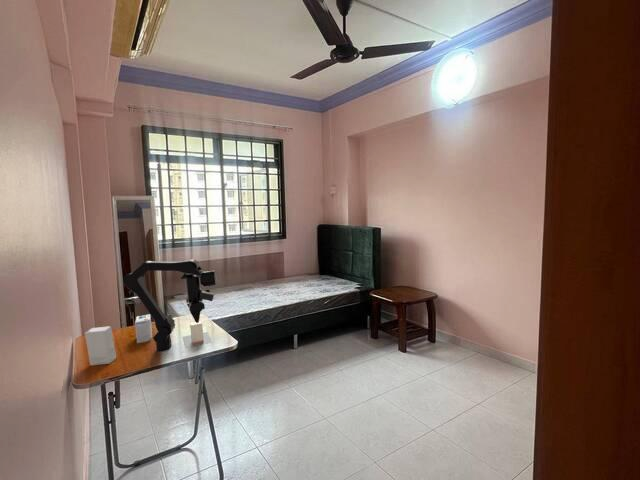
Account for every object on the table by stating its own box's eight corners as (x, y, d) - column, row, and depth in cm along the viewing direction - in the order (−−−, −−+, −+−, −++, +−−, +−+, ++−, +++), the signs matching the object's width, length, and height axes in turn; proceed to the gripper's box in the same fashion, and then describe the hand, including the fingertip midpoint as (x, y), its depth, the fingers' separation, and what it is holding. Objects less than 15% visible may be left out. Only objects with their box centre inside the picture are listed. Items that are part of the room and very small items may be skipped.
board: (212, 344, 158) (212, 342, 158) (185, 350, 153) (185, 348, 153) (204, 327, 184) (204, 324, 183) (180, 331, 178) (180, 329, 178)
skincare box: (116, 358, 149) (112, 325, 148) (109, 364, 143) (104, 330, 142) (97, 359, 149) (93, 326, 147) (88, 366, 143) (84, 332, 141)
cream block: (203, 341, 159) (202, 323, 159) (192, 344, 157) (190, 325, 156) (202, 339, 163) (201, 320, 162) (191, 341, 161) (189, 322, 160)
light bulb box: (138, 336, 175) (135, 316, 174) (152, 333, 177) (150, 313, 176) (136, 343, 165) (134, 322, 164) (152, 340, 168) (149, 319, 167)
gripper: (215, 288, 149) (218, 322, 151) (208, 281, 166) (211, 312, 167) (188, 292, 144) (191, 328, 146) (184, 284, 161) (187, 316, 162)
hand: (196, 320), depth 155 cm, fingers open, 6 cm apart
